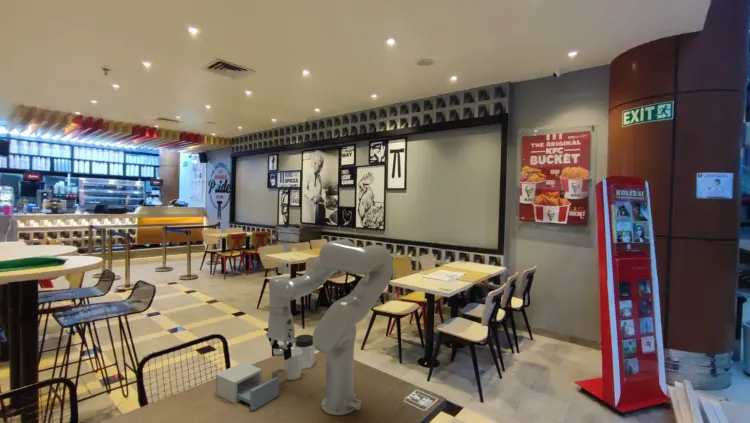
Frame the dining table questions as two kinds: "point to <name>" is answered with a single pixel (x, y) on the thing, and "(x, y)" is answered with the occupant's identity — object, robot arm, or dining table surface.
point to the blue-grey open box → (259, 393)
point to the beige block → (280, 377)
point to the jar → (306, 350)
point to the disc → (279, 350)
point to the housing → (236, 380)
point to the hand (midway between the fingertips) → (281, 356)
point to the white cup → (293, 364)
